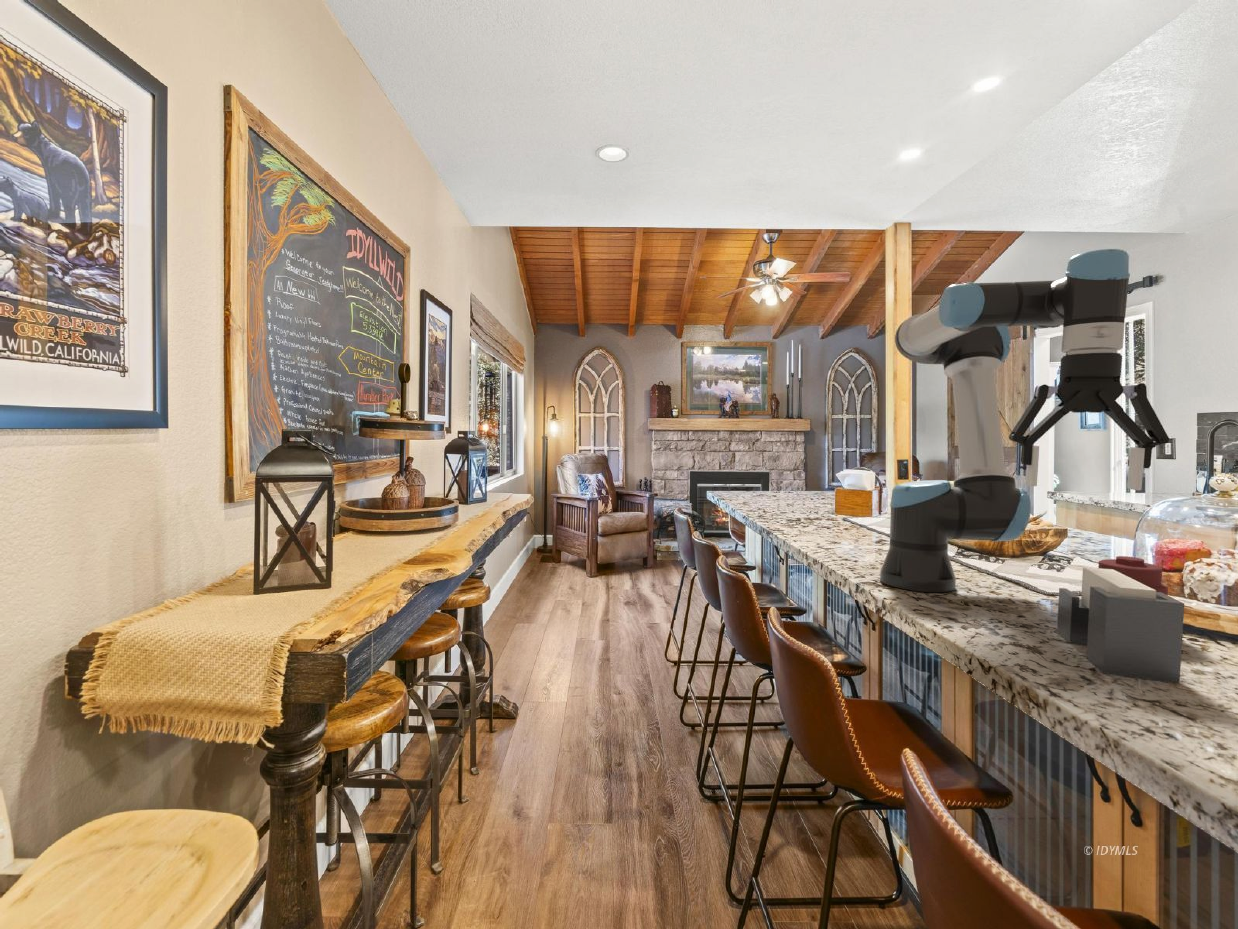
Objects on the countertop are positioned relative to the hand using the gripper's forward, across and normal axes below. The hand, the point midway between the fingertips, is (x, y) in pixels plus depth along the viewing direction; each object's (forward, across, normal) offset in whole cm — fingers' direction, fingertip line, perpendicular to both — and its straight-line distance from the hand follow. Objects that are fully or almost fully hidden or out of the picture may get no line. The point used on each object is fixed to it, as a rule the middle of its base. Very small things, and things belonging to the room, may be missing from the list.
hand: (1081, 487), depth 93 cm
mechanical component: (+26, +12, +11) cm, 31 cm away
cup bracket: (+25, +3, -12) cm, 28 cm away
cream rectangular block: (+19, +3, -6) cm, 20 cm away
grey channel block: (+25, +4, +1) cm, 26 cm away
